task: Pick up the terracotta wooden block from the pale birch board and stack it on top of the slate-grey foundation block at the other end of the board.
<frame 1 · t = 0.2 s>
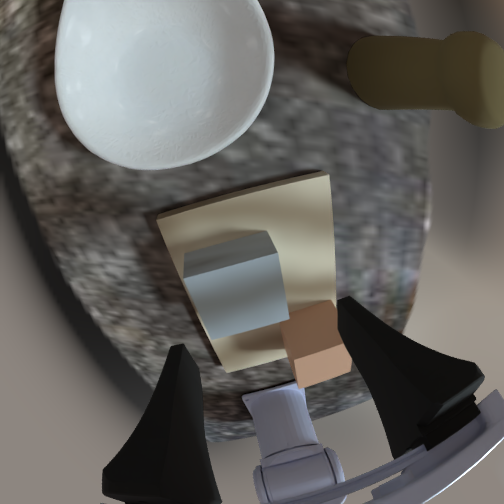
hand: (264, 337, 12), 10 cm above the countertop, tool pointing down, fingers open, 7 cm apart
terracotta block: (306, 325, 26), point 1 cm above the countertop, touching baseboard
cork: (379, 72, 16), on the countertop
baseboard: (265, 289, 24), on the countertop
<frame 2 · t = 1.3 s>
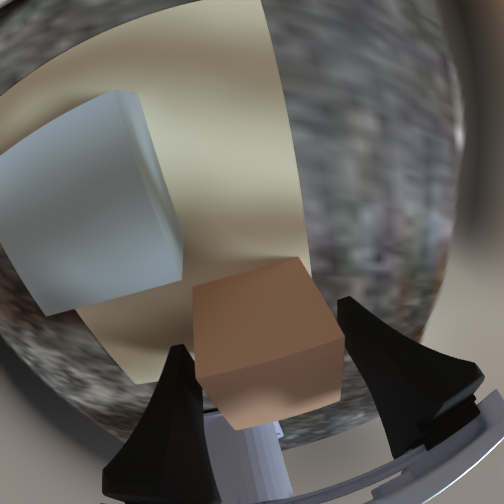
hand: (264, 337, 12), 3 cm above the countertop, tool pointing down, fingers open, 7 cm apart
terracotta block: (256, 310, 14), point 1 cm above the countertop, touching baseboard
baseboard: (164, 232, 12), on the countertop
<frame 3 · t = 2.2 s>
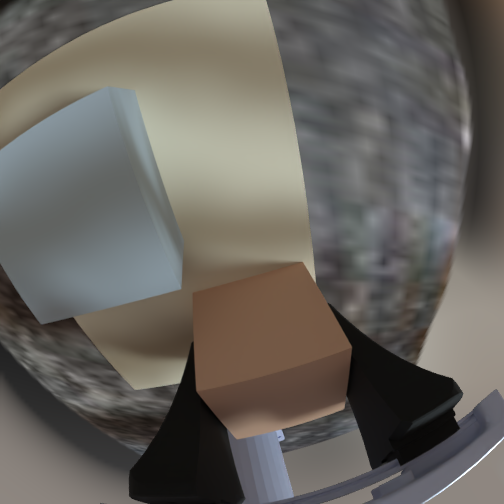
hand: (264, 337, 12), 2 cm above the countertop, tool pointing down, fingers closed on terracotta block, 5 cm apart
terracotta block: (258, 316, 13), point 1 cm above the countertop, touching baseboard, gripper
baseboard: (163, 236, 11), on the countertop
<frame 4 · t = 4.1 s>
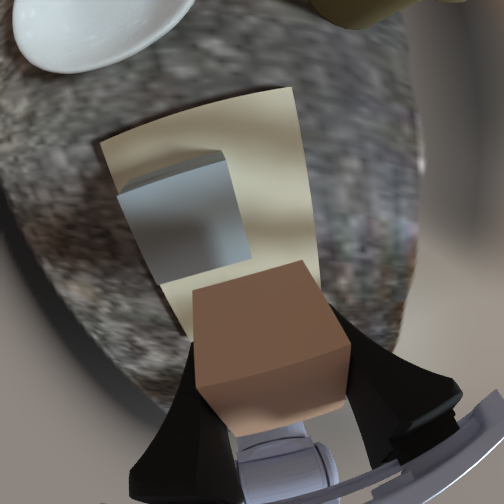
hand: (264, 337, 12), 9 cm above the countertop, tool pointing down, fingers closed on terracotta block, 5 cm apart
terracotta block: (258, 314, 13), point 8 cm above the countertop, touching gripper
baseboard: (228, 232, 20), on the countertop
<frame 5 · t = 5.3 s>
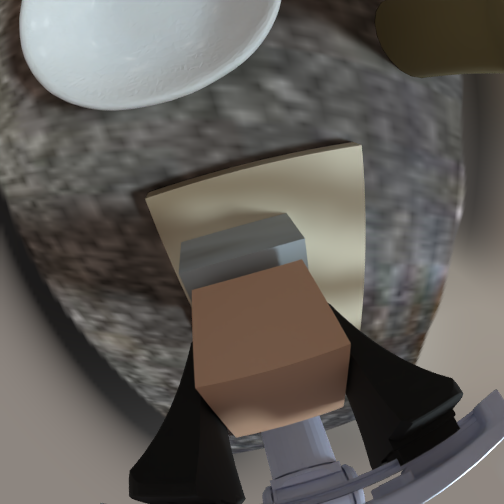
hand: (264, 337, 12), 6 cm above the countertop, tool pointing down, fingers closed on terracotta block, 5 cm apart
terracotta block: (258, 314, 13), point 5 cm above the countertop, touching gripper
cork: (409, 36, 11), on the countertop
baseboard: (280, 288, 19), on the countertop
when the fingers open (6 cm above the countertop, at t = 6.1 s): terracotta block stays where it is, resting on baseboard.
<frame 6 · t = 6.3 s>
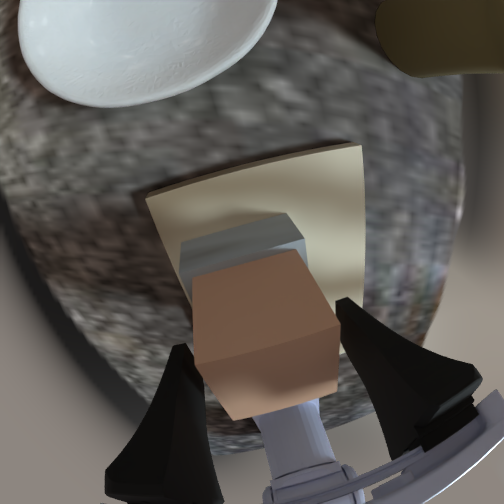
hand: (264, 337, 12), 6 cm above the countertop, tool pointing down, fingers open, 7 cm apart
terracotta block: (255, 302, 14), point 4 cm above the countertop, touching baseboard
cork: (409, 37, 11), on the countertop
baseboard: (280, 288, 19), on the countertop
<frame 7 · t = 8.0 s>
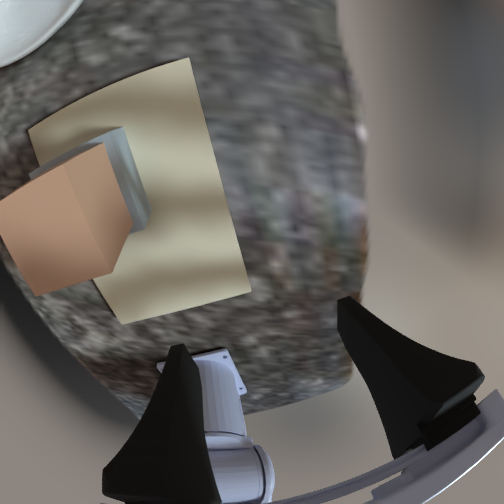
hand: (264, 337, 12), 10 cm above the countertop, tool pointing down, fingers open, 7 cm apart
terracotta block: (81, 198, 14), point 4 cm above the countertop, touching baseboard
baseboard: (141, 208, 19), on the countertop
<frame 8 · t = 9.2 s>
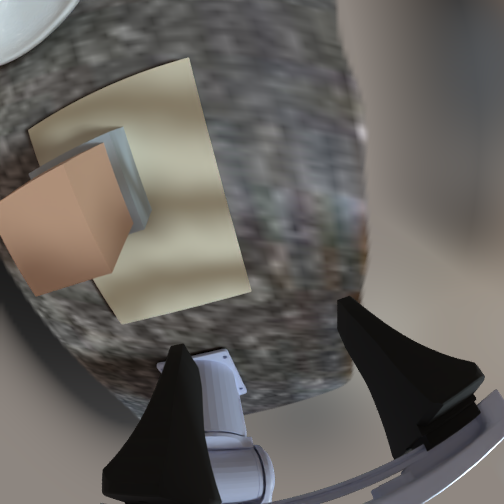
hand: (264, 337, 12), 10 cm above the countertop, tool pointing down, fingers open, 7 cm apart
terracotta block: (81, 198, 14), point 4 cm above the countertop, touching baseboard
baseboard: (141, 208, 19), on the countertop
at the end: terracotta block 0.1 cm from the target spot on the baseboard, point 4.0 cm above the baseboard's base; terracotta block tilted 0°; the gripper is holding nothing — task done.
